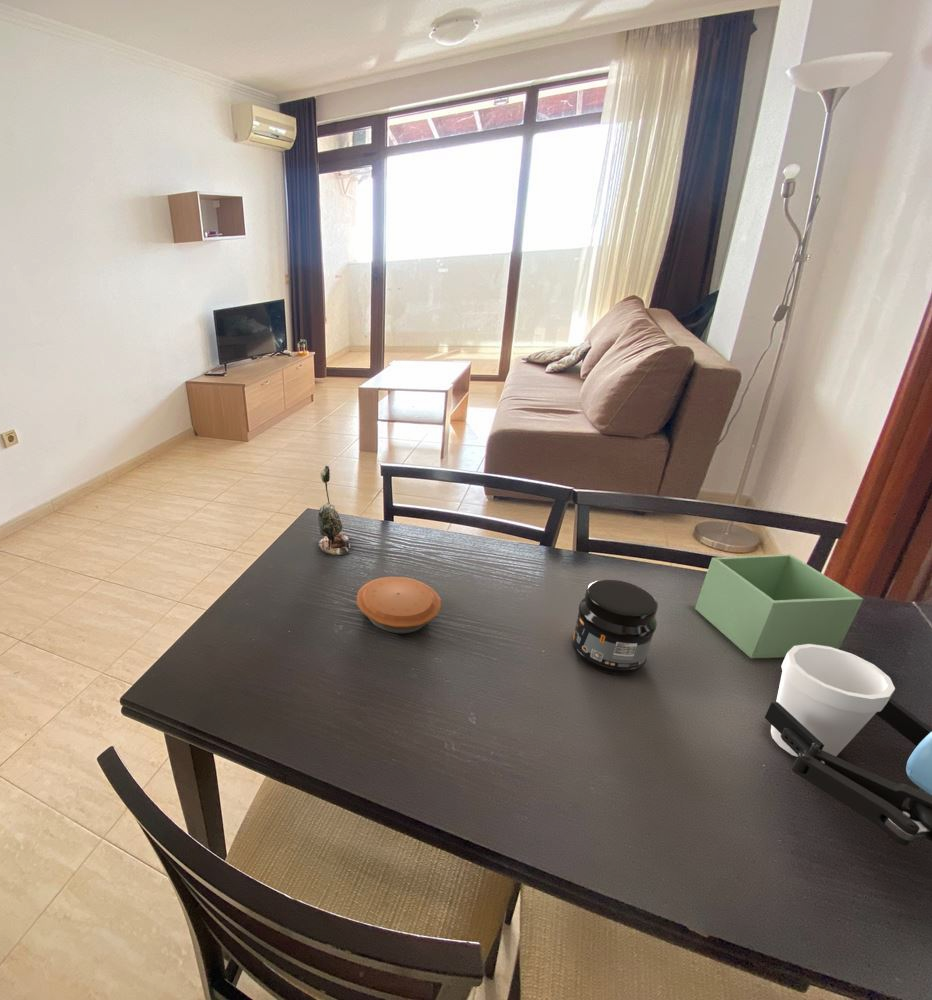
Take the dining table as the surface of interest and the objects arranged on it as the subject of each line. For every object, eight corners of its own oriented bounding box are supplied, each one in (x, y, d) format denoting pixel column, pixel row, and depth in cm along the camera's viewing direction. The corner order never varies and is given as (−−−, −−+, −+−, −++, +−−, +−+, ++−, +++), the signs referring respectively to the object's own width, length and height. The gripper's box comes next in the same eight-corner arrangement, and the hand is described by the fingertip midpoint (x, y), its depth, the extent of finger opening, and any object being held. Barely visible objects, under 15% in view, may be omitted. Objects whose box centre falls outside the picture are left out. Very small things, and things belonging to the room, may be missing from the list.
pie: (369, 585, 112) (369, 564, 110) (446, 600, 106) (447, 579, 104) (346, 630, 100) (345, 608, 98) (431, 650, 93) (433, 627, 91)
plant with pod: (308, 557, 124) (304, 477, 115) (325, 534, 133) (323, 459, 124) (342, 563, 121) (340, 482, 112) (357, 539, 130) (357, 462, 121)
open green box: (769, 605, 97) (790, 553, 93) (836, 655, 86) (863, 599, 81) (694, 608, 98) (711, 557, 93) (750, 658, 86) (773, 602, 82)
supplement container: (597, 627, 96) (611, 570, 90) (659, 663, 87) (678, 602, 82) (556, 647, 92) (568, 589, 87) (616, 687, 83) (633, 625, 78)
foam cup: (773, 705, 78) (805, 634, 72) (862, 750, 71) (905, 675, 65) (743, 736, 74) (775, 664, 68) (834, 787, 66) (878, 711, 61)
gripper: (878, 913, 52) (716, 732, 71) (1159, 909, 50) (917, 725, 69) (913, 866, 48) (733, 689, 67) (1214, 860, 47) (944, 681, 66)
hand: (826, 707), depth 68 cm, fingers open, 13 cm apart
